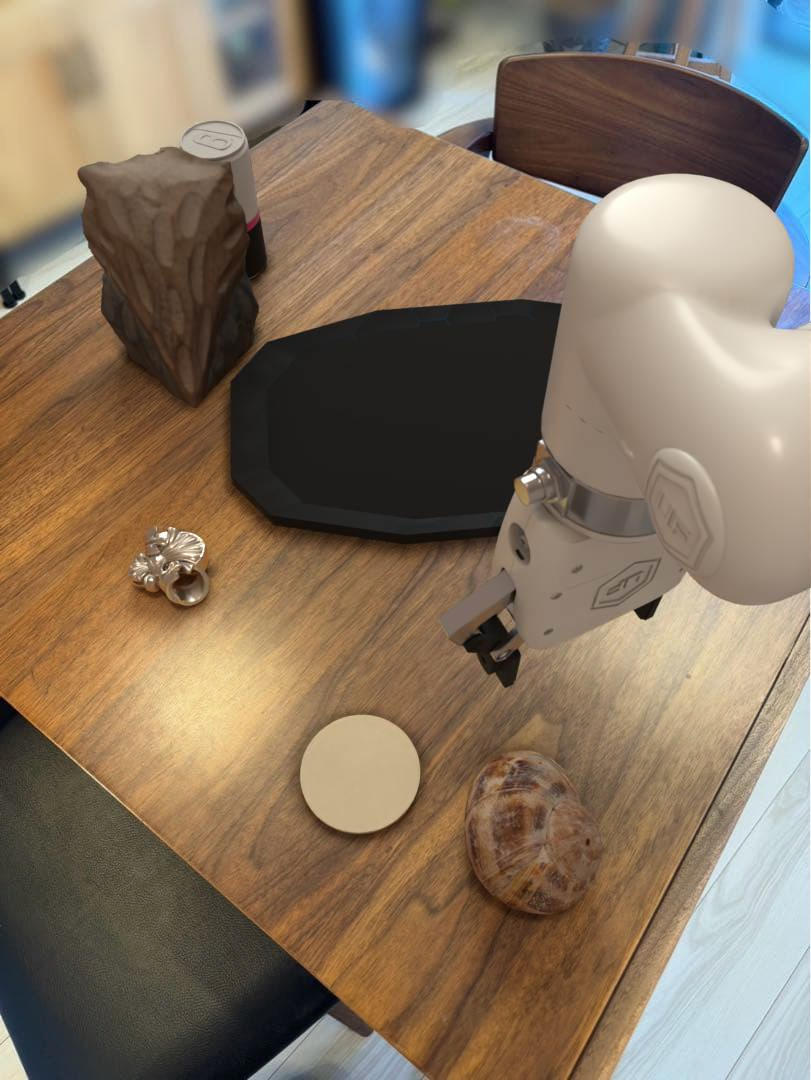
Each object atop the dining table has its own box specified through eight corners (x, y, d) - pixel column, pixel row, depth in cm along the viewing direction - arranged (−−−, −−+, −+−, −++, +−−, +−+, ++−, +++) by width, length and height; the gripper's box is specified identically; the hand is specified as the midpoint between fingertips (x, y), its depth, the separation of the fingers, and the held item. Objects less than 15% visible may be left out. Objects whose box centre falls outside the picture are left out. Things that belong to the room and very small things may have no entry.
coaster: (441, 751, 68) (441, 749, 68) (381, 857, 64) (381, 856, 63) (341, 696, 70) (340, 694, 70) (277, 795, 66) (276, 794, 66)
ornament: (119, 554, 78) (107, 531, 74) (194, 524, 79) (185, 500, 76) (149, 627, 74) (138, 606, 71) (227, 593, 75) (219, 571, 72)
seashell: (638, 813, 64) (624, 841, 55) (568, 914, 65) (543, 959, 56) (518, 725, 68) (486, 738, 59) (454, 822, 69) (412, 849, 59)
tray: (660, 299, 94) (663, 287, 93) (740, 513, 80) (745, 503, 78) (232, 332, 92) (230, 321, 91) (233, 560, 77) (230, 550, 76)
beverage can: (248, 291, 95) (223, 166, 83) (196, 274, 97) (164, 148, 84) (278, 254, 99) (259, 128, 86) (227, 238, 100) (201, 111, 87)
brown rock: (110, 348, 91) (42, 174, 74) (205, 285, 96) (161, 109, 79) (191, 412, 86) (138, 242, 69) (286, 342, 91) (258, 168, 74)
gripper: (493, 598, 36) (470, 748, 50) (830, 445, 40) (720, 624, 54) (409, 466, 39) (410, 641, 54) (725, 338, 44) (648, 532, 58)
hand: (566, 632), depth 54 cm, fingers open, 9 cm apart
